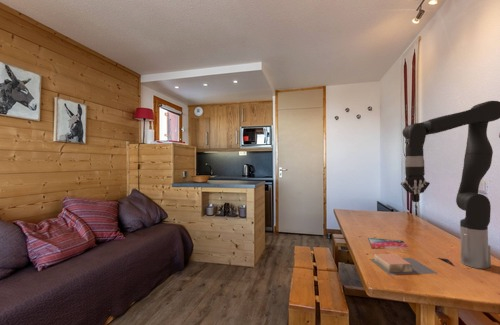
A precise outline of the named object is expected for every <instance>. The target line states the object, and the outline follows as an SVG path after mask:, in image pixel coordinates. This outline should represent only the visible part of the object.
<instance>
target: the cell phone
mask: <svg viewBox="0 0 500 325" xmlns="http://www.w3.org/2000/svg"><path fill="white" fill-rule="evenodd" d="M437 259H438V260H441V261H442V262H444V263H446V264H448V265H450V266H452V267H454V263H452V262H451V261H450V260H449V259H447V258H440V257H439V258H438V257H437Z"/></svg>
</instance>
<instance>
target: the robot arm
mask: <svg viewBox="0 0 500 325" xmlns="http://www.w3.org/2000/svg"><path fill="white" fill-rule="evenodd" d="M499 119H500V101H498V100H488V101H485V102H480V103H478V104H475V105H474V106H472V107H470V108H469V109H467V110H464V111H458V112H456V113H455V112H454V113H452V114H447V115H442V116H438V117H434V118H431V119H428V120H425V121H422V122H415V123H412V124H409V125H407V126H404V128H403V130H402V136H403V137H404V138H405V139H407V140H408V144H407V145H406V146H405V159H404V165H405V168H404V169H405V176H406V177H405V180H404V181H402V182H400V185H401V186H402V188H403V189H404V190H405V191H406V193H409V194H411V201H412V202H413V203H419V201H420V194H423V193H425V191H426V190H427V188H428V187H429V186H430V185H431V183H430V181H427V180H426V179H425V173H426V172H425V159H424V147H425V146H424V145H425V141H426V138H427V137H426V136H429V135H435V134H439V133H442V132H446V131H448V130H449V131H450V130H453V129H457V128H459V127H464V126H467V129H468V130H467V137H466V138H467V139H466V146H465V147H466V148H465V151H464V158H463V165H462V166H463V167H462V173H461V180H460V183H459V188H458V190H457V193H456V198H455V203H456V205H457V207H458V208H459V209H460V210H462V211H465V217H464V218H462V219H460V221H459V227H460V228H459V229H460V231H459V232H460V261H461V264H463V265H465V266H468V267H471V268H475V269H483V270H485V269H488V268H491V267H492V265H491V264H492V263H491V262H492V259H491V258H492V257H491V255H492V254H491V245H490V244H489V229H488V227H489V225H490V223H491V209H492V208H491V202H490V200H489V198H488V196H486V195H485V194H482V193H479V188H480V184H481V181H482V180H483V178H484V177H485V176H486V174H487V172H488V171H489V169H490V168H491V166H492V160H493V156H494V155H493V154H494V151H493V147H492V145H491V143H490V140H489V138H488V134H487V133H488V125H489V123H491V122H494V121H497V120H499Z"/></svg>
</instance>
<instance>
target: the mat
mask: <svg viewBox="0 0 500 325" xmlns="http://www.w3.org/2000/svg"><path fill="white" fill-rule="evenodd" d="M401 258H402V259H404V260H405V261H407V262H409V263H410V264H412V272H388V271H387V270H386V269H384V268H383V267H382V266H380V265H379V264H378V263H377V262H375V261H374V258H369V261H371V262H372V263H373V264H374V265H376V266H377V267H379V269H381V270H382V271H383V272H385V273H386V274H387V275H393V276H394V275H420V274H421V275H422V274H424V275H425V274H427V275H428V274H438V272H436V271H435V270H434V269H432V268H430V267H429V266H427V265H425V264H423V263H421V262H419V261H417V260H416V259H414V258H412V257H401Z"/></svg>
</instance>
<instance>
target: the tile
mask: <svg viewBox="0 0 500 325" xmlns="http://www.w3.org/2000/svg"><path fill="white" fill-rule="evenodd" d="M402 258H403V257H401V256H399V255H397V254H396V253H380V254H379V253H376V254H373V259H374V261H375V262H377V263H378V264H379V265H380V266H382V267H383V268H384V269H386V270H387V271H388V272H412V264H410V263H409V262H407V261H405V260H404V259H402Z"/></svg>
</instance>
